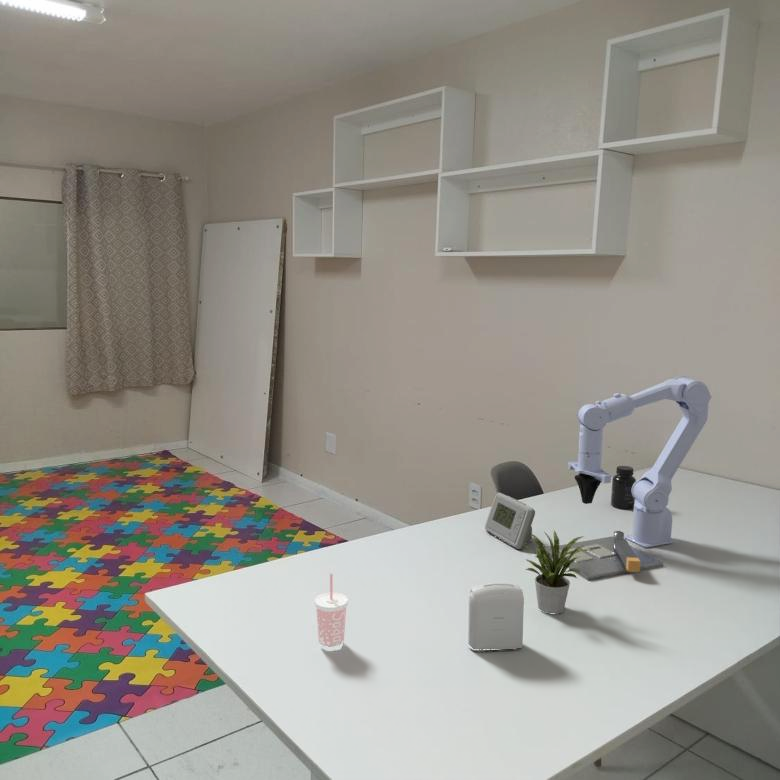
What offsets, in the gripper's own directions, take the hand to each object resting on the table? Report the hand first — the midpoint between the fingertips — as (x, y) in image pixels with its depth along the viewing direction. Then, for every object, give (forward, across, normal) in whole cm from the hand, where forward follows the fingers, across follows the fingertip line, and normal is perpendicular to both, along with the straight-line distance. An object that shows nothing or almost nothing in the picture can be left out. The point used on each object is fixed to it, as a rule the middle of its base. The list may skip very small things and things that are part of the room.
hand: (587, 502), depth 184 cm
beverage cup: (+11, +25, -78) cm, 83 cm away
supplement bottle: (+11, -19, +29) cm, 36 cm away
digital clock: (+11, -9, -18) cm, 23 cm away
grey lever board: (+10, +11, -4) cm, 16 cm away
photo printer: (+11, +37, -50) cm, 63 cm away
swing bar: (+9, +17, -1) cm, 19 cm away
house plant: (+11, +29, -30) cm, 43 cm away
